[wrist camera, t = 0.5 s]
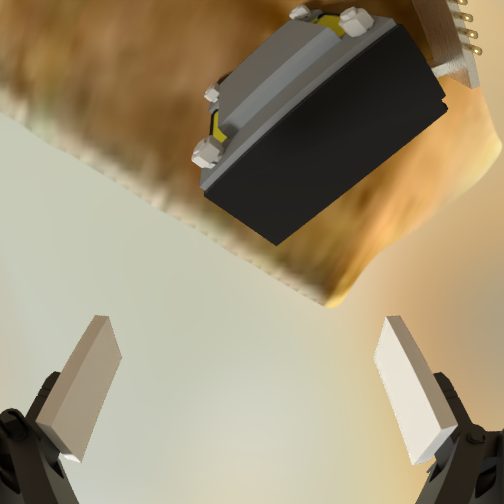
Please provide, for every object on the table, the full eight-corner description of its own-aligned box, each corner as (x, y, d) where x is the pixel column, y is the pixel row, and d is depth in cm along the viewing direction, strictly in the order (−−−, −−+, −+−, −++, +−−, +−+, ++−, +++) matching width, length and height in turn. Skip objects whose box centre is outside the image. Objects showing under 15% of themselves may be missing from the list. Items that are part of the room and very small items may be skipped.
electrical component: (303, -2, 26) (381, -4, 12) (358, 58, 32) (455, 115, 18) (198, 96, 35) (178, 178, 20) (258, 144, 40) (282, 250, 26)
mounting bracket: (319, -19, 25) (352, -26, 17) (400, -43, 21) (449, -47, 14) (376, 95, 35) (415, 126, 28) (444, 67, 32) (492, 92, 24)
